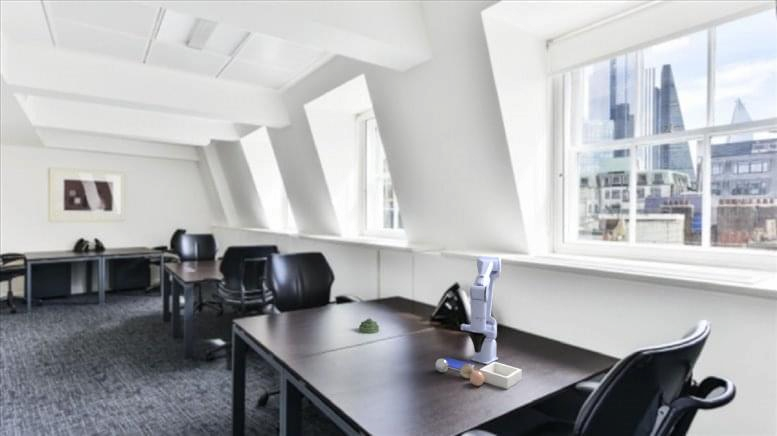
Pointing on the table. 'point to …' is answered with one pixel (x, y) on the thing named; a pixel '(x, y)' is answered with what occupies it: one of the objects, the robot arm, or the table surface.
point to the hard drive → (456, 363)
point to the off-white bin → (501, 375)
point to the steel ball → (441, 365)
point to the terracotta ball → (477, 378)
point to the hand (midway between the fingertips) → (477, 351)
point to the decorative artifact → (369, 327)
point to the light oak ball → (466, 370)
